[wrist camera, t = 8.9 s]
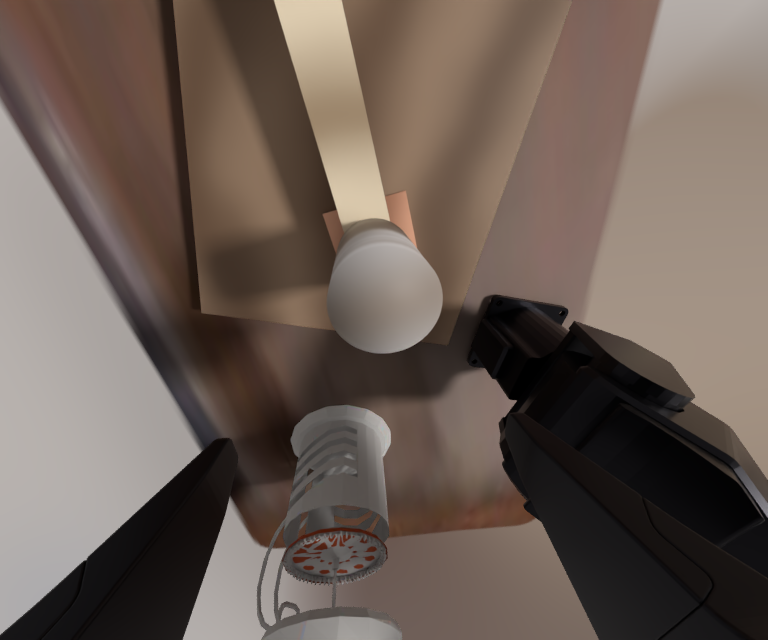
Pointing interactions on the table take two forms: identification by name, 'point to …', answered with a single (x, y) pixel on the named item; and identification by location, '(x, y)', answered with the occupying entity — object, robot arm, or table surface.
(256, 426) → the table surface
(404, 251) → the grey-ended beige bar
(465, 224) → the board
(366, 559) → the french press
